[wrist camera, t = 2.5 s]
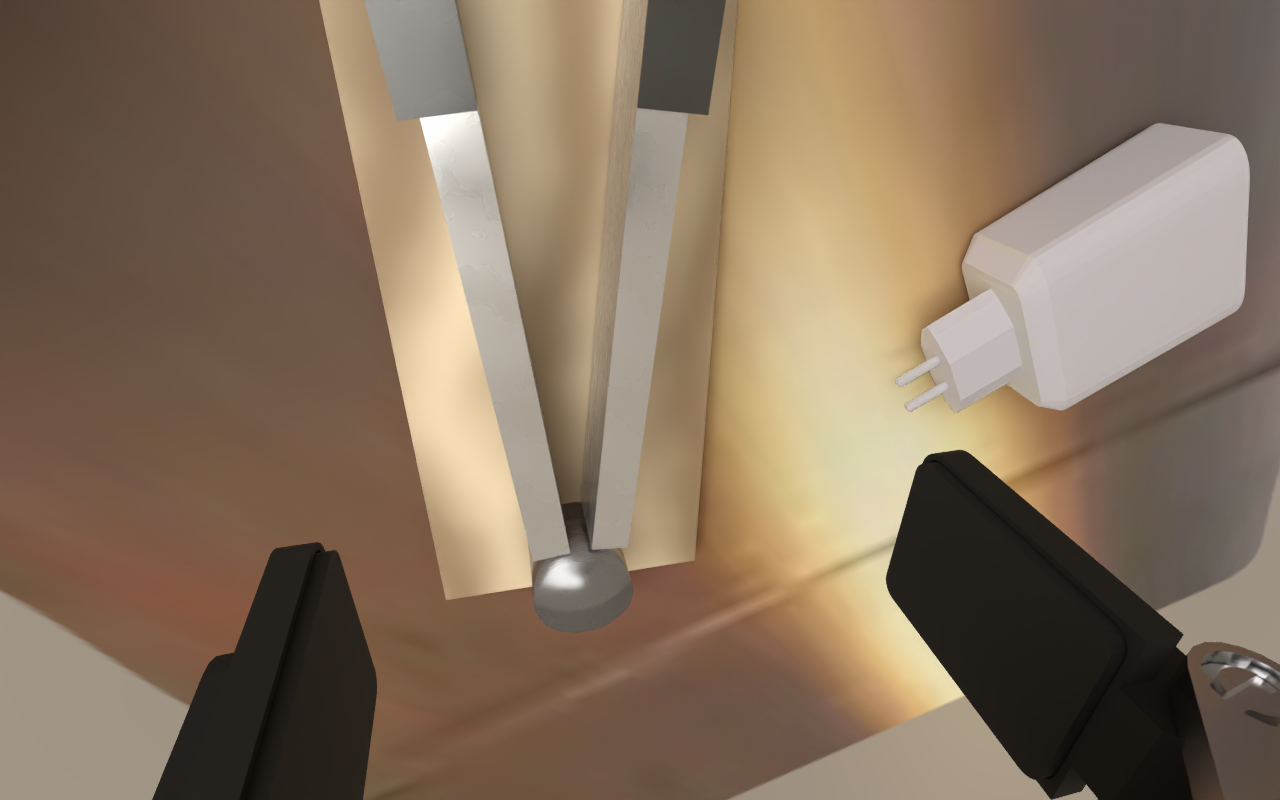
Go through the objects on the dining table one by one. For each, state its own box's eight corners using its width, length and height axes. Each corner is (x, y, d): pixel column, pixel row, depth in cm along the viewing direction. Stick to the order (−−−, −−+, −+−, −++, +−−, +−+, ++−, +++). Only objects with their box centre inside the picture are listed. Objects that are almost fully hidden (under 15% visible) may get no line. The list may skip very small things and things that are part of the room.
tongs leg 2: (625, 496, 31) (641, 547, 28) (580, 498, 30) (592, 551, 27) (698, -75, 20) (739, -91, 17) (630, -88, 19) (659, -106, 16)
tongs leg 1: (560, 500, 30) (570, 554, 27) (514, 511, 30) (519, 566, 27) (436, -96, 18) (429, -118, 15) (357, -90, 18) (333, -110, 15)
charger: (846, 301, 30) (1143, 119, 28) (898, 431, 35) (1152, 282, 33) (904, 346, 26) (1253, 136, 24) (953, 485, 31) (1244, 319, 29)
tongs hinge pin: (615, 496, 31) (633, 554, 28) (616, 561, 33) (632, 623, 30) (524, 508, 30) (530, 570, 27) (531, 575, 32) (538, 639, 29)
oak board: (733, -85, 21) (744, -88, 20) (689, 547, 35) (694, 560, 34) (304, -104, 18) (296, -110, 17) (446, 584, 33) (446, 600, 32)
